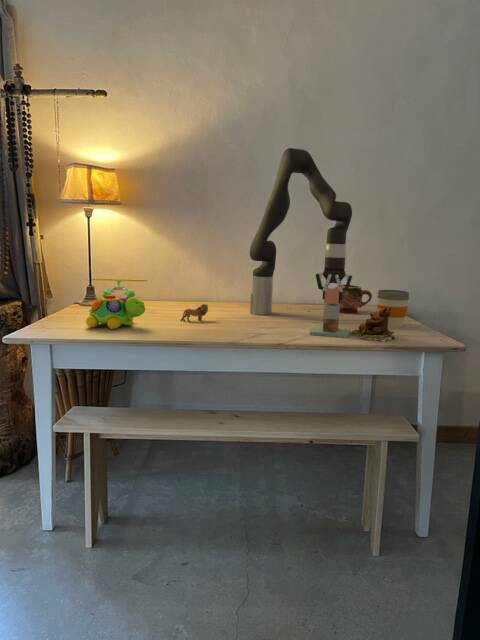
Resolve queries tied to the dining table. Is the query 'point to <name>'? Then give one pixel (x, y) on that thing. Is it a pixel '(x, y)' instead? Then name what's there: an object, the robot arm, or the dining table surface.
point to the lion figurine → (195, 312)
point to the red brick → (331, 296)
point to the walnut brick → (330, 325)
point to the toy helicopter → (119, 287)
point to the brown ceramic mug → (352, 299)
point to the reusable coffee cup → (394, 305)
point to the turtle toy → (114, 311)
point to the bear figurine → (376, 327)
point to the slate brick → (331, 311)
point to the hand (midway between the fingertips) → (332, 301)
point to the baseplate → (340, 332)
